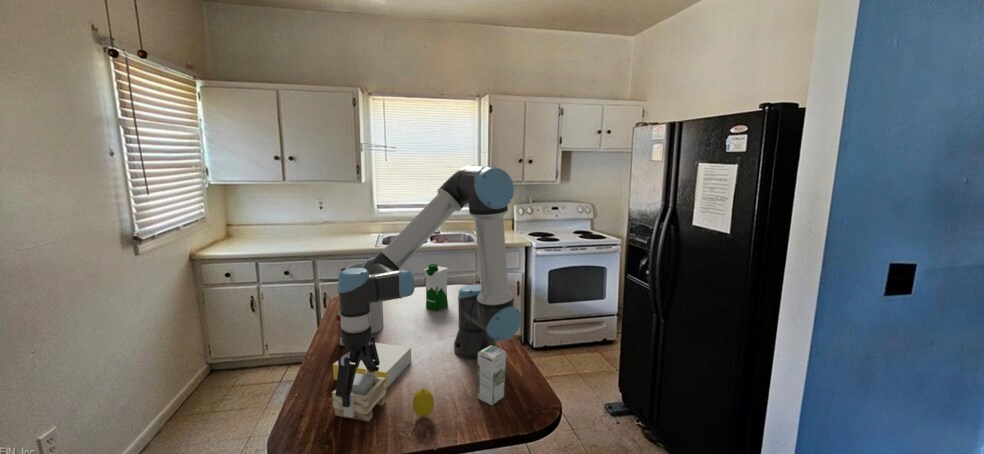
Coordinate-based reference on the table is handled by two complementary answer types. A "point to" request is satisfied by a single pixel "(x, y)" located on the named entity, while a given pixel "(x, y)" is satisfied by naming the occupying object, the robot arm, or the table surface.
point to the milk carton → (436, 287)
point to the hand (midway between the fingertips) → (360, 403)
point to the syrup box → (491, 374)
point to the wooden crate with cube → (363, 400)
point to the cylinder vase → (373, 310)
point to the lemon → (423, 403)
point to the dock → (385, 362)
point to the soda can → (339, 329)
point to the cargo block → (362, 384)
